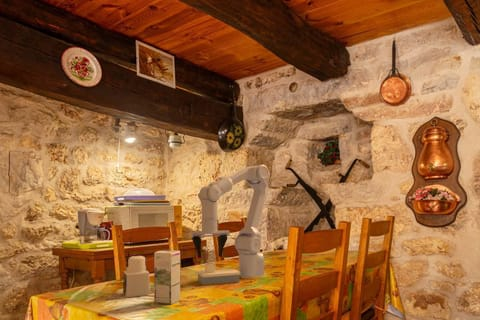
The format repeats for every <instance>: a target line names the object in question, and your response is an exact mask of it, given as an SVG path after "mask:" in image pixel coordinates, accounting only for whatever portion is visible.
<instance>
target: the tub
mask: <svg viewBox="0 0 480 320" xmlns="http://www.w3.org/2000/svg"><path fill="white" fill-rule="evenodd" d="M197 282H199V283H200V284H201V285H202V286H204V287H205V286H211V285H212V286H215V285H226V284H234V283H235V284H236V283H237V284H238V283H240V277H239V275H227V276H215V277H201V276H200V275H199V274H197Z"/></svg>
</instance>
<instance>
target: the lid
mask: <svg viewBox="0 0 480 320" xmlns="http://www.w3.org/2000/svg"><path fill="white" fill-rule="evenodd" d="M196 274H197V275H198V274H199V275H200V276H201V277H215V276H227V275H240V272H239V270H237V269H235V268H232V267H231V268H220V269H219V268H218V269H216V263H214V262H205V263H204V269H203V270H196Z"/></svg>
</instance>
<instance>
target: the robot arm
mask: <svg viewBox="0 0 480 320" xmlns="http://www.w3.org/2000/svg"><path fill="white" fill-rule="evenodd" d="M270 176H271V173H270V171H269V169H268V167H267V165H265V164H260V165H259V164H257V165H252V166H245V167H243V168H241V169H240V170H238V171H237V172H235V173H234V174H232V175H230V176H228V177H226V176H220V177H218V180H216V181H214V182H209V185H208V186H206V185H205V186H202V187H201V189H200V190H199V193H198V194H197V197H198V199H199V200H200V205H201V231H199V230H198V231H189V232H188V233H189V234H188V237H189V238H191V241H192V242H193V245H194V247H195V251H196V254H197V258H198V259H201V258H202V251H201V250H202V248H201V247H202V238H208V237H212V238H213V237H217V242H218V243H217V245H218V246H217V247H218V252H217V253H218V257H219V258H222V256H223V251H224V248H225V245H226V243H227V240H228V237H230V230H227V229H226V230H218V201H219V200H220V199H221V197H222V196H224V195H225V194H227V193H229V192H230V191H232V190H233V188H234V187H233V186H234V185H236V184H238V183H240V182H242V181H244V180H245V182H246V183H247V184H248V185H249V186H250V187H251V188H252V189H253V194H252V197H251V201H250V205H249V209H248V211H247V212H248V213H247V217H246V221H245V223H244V227H242V228H241V229H240V230H239V232H238V235H237V236H236V238H235V239H234V247H235V250H236V251H237V253H238V271H239V272H240V275H239V278H242V279H247V278H258V277H265V276H266V275H265V258H264V254H263V253H262V252H260V250H261V247H262V237H263V236H262V234H261V233H260V231H259V228H260V224H261V219H262V216H263V211H264V208H265V203H266V200H267V195H268V192H269V180H270Z"/></svg>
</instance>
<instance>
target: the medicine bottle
mask: <svg viewBox="0 0 480 320" xmlns="http://www.w3.org/2000/svg"><path fill="white" fill-rule="evenodd" d="M125 268H126V270H124V271H123V279H122V280H123V281H122V282H123V284H122V285H123V286H122V293H123V295H124V297H125V298H126V299H128V298H137V297H138V298H139V297H146V296H149V295H150V272H149V271H148V270H147V256H145V255H139V254H136V255H130V256H127V258H126V267H125Z"/></svg>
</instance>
